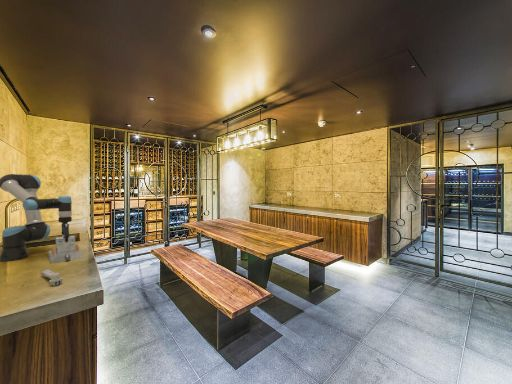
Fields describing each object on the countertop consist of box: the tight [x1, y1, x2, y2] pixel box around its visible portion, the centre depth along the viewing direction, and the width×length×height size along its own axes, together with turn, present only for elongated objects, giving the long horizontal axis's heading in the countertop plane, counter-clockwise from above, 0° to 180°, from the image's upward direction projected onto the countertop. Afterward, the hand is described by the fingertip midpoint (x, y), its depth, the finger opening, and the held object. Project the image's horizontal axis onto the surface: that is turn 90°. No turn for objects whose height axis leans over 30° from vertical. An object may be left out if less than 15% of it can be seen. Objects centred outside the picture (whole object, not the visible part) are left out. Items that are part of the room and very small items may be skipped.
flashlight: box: [40, 268, 63, 287], centre depth 129 cm, size 5×7×25 cm
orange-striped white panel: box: [47, 243, 84, 264], centre depth 169 cm, size 23×18×8 cm
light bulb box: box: [55, 235, 76, 253], centre depth 170 cm, size 11×7×11 cm, turn 141°
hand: (65, 244), depth 170 cm, fingers open, 13 cm apart
